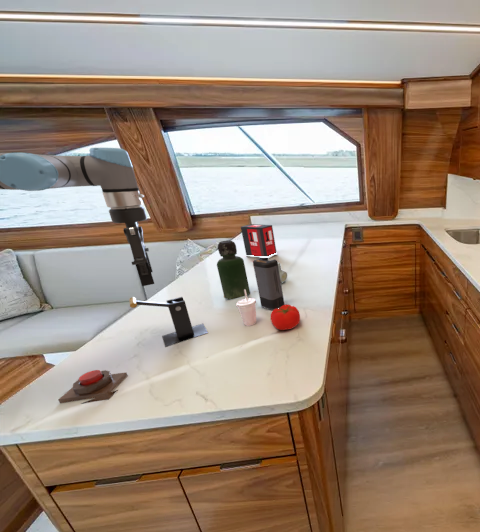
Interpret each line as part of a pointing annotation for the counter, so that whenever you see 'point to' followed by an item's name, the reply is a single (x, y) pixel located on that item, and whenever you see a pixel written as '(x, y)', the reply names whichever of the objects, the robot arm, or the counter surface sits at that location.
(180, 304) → the switch bracket
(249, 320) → the smoothie
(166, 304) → the switch lever
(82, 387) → the button block
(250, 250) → the cleaning product box
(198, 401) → the counter surface
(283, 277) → the air freshener
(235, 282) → the green bottle
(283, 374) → the counter surface
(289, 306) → the tomato
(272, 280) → the electronic device
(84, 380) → the red button
